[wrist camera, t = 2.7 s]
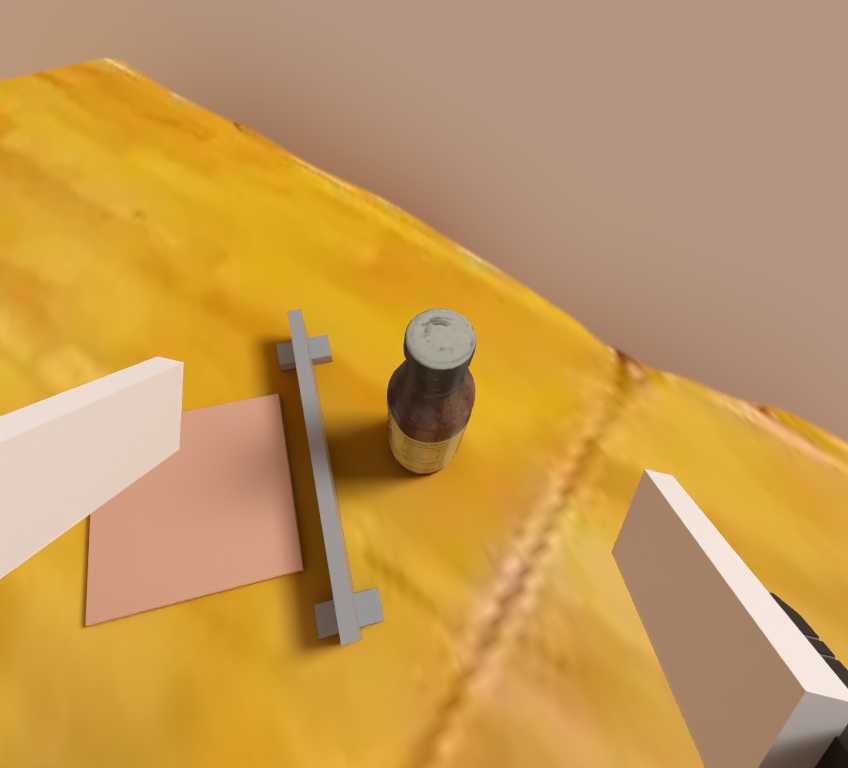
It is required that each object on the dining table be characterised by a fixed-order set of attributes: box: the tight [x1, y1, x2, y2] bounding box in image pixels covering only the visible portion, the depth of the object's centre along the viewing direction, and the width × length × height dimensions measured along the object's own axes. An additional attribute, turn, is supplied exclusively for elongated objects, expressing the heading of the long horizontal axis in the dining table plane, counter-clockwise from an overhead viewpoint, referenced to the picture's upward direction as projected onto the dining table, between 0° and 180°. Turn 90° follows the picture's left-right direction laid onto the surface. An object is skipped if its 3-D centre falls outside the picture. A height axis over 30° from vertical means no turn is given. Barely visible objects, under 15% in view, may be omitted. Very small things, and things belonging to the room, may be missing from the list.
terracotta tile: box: [85, 394, 304, 626], centre depth 40 cm, size 16×16×1 cm
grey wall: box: [276, 309, 384, 646], centre depth 40 cm, size 5×28×5 cm, turn 15°
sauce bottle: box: [387, 308, 476, 474], centre depth 35 cm, size 7×6×20 cm
